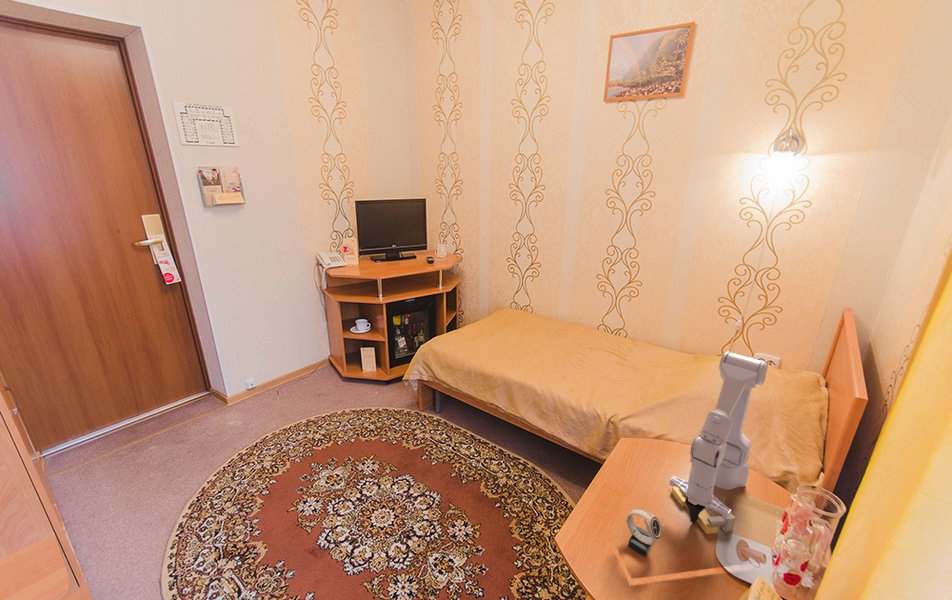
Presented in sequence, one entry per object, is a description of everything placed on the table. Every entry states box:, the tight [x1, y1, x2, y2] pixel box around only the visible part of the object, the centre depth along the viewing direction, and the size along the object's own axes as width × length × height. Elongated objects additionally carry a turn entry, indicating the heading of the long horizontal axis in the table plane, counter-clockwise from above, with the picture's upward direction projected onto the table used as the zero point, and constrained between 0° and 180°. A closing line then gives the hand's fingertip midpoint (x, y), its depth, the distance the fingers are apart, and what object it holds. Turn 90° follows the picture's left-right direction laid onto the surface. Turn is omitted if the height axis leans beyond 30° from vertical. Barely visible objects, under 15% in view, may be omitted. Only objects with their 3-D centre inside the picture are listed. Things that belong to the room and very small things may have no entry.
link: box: [671, 486, 719, 535], centre depth 107 cm, size 14×5×2 cm, turn 5°
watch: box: [626, 507, 662, 557], centre depth 97 cm, size 6×8×11 cm
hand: (694, 520), depth 104 cm, fingers closed, pressing on link
